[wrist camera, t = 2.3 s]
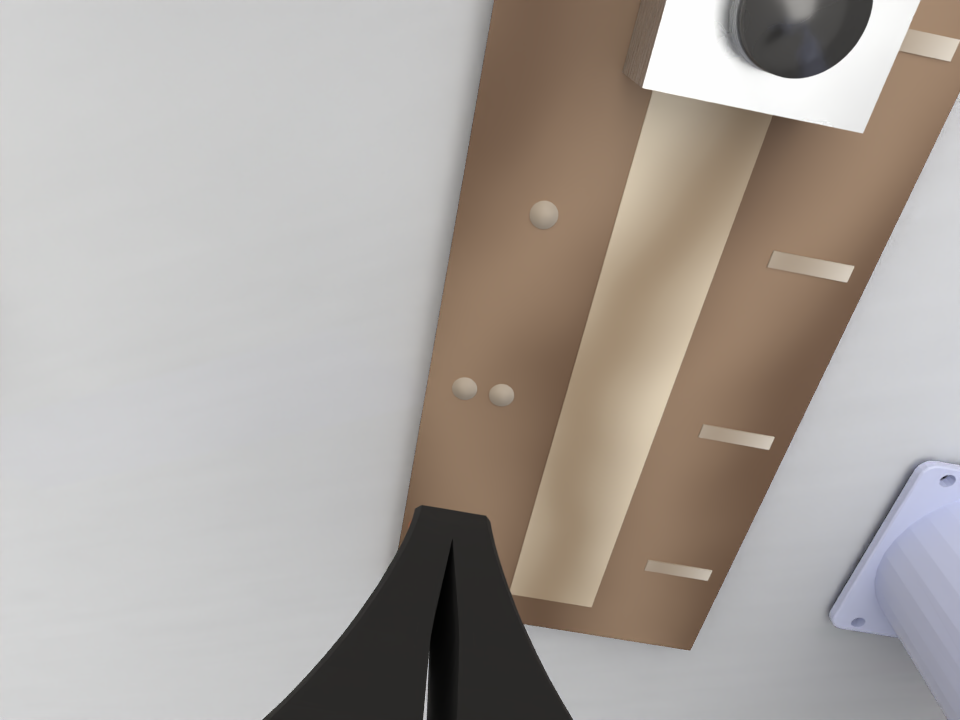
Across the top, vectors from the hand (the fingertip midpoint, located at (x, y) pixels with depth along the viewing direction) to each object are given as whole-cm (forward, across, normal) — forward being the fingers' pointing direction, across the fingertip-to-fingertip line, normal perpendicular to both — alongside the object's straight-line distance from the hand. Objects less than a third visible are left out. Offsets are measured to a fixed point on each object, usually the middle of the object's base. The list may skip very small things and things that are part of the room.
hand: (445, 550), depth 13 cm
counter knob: (+9, -5, -10) cm, 15 cm away
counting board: (+10, -5, -1) cm, 12 cm away
